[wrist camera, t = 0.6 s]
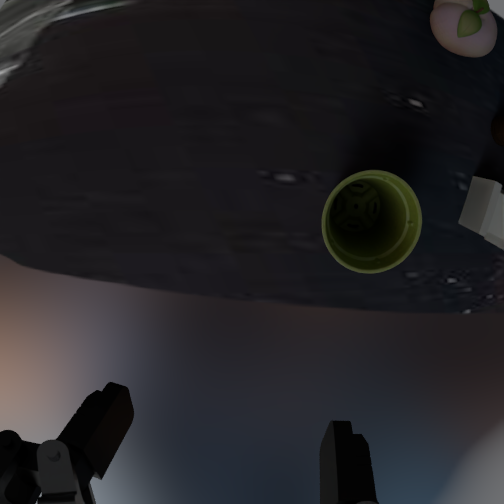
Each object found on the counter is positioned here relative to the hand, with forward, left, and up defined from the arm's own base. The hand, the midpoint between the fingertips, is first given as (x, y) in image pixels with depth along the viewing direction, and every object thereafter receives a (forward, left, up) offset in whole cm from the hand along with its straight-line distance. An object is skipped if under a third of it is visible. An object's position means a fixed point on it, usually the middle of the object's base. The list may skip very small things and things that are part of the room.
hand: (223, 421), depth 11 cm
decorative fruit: (-32, +14, -27) cm, 44 cm away
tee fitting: (-12, +31, -27) cm, 43 cm away
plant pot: (-6, +8, -27) cm, 29 cm away
